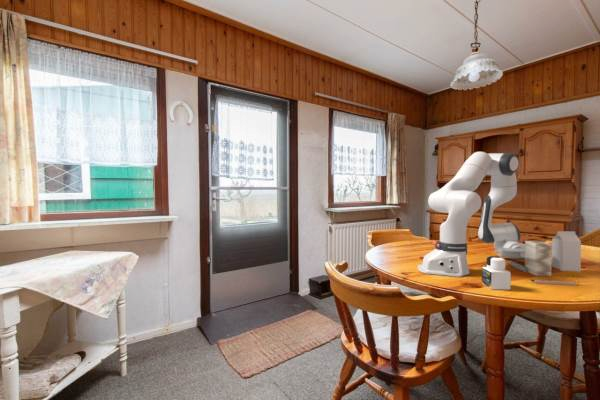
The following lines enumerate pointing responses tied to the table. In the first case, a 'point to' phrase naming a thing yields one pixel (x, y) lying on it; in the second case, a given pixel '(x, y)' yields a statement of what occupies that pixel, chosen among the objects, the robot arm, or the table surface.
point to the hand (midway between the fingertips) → (532, 257)
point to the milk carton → (566, 251)
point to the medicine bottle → (496, 274)
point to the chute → (540, 280)
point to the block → (538, 257)
